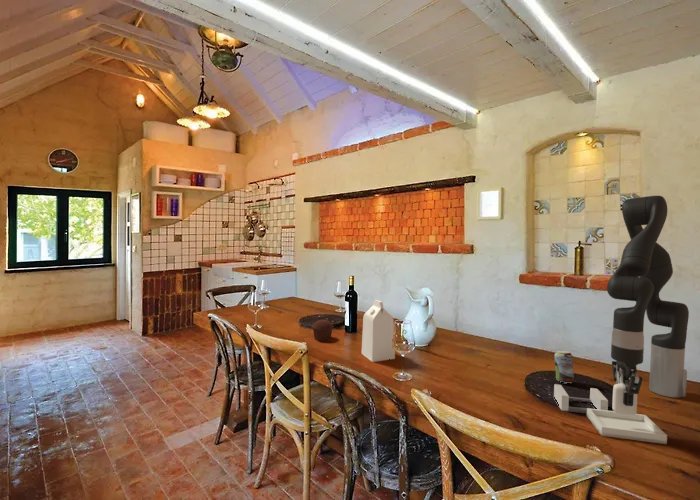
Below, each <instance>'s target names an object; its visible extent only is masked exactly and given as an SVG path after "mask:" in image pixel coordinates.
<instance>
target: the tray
mask: <svg viewBox="0 0 700 500" xmlns="http://www.w3.org/2000/svg"><path fill="white" fill-rule="evenodd" d="M586 417H587V418H588V419H589V420H590V422H591V424H592V425H593V426H594V428H595V429H596V430H597V431H598V433H599V434H600V436H603V437H611V438H617V439H626V440H633V441H641V442H645V443H646V442H649V443H654V444H660V445H667V443H668V434H666V432H664V431H663V430H662V429H661V428H660V427H659V426H658V425H657V424H655V423H654V421H652V419H650V417H648V416H647V415H646V414H640V413H637V414H636V415H624V414H619V413H616V412H614V410H599V409H595V408H590V407H587V413H586Z"/></svg>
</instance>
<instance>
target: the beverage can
mask: <svg viewBox="0 0 700 500" xmlns="http://www.w3.org/2000/svg"><path fill="white" fill-rule="evenodd" d="M554 366H555V367H554V368H555V380H556V381H558V382H559V381H560V382H559V383H561V382H564V383H563V384H567V383H570V384H573V383H574V382H575V374H574V373H575V372H574V371H575V370H574V358H573V355H572V353H571V352H570V351H568V350H555V353H554Z"/></svg>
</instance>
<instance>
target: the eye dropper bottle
mask: <svg viewBox="0 0 700 500" xmlns="http://www.w3.org/2000/svg"><path fill="white" fill-rule="evenodd" d="M625 381H627V382H629V380H625ZM627 386H628V385H627ZM623 394H624V388H623V384H622V383H621V377H620V383H619V384H616V383H615V384H614V385H613V388H612V405H611V406H612V407H611V408H612V411H614V412H616V413H619V414H624V415H636V414H638V413H637V412H638V411H637V410H638V409H637V408H638V394H634V397H633V406H626V405H624V404H623Z"/></svg>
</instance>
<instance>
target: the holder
mask: <svg viewBox="0 0 700 500" xmlns="http://www.w3.org/2000/svg"><path fill="white" fill-rule="evenodd" d="M554 397H555V399H556V400H557V402H558V404H559V406H558V408H559V409H560V410H561V411H563V412H571V413H573V412H574V413H580V414H587V408H588V407H587V408H586V407H580V406H579V407H578V406H577V407H576V406H570V405H569V404H570V403H569V402H570V401H569V399H573V400H582V401H589V402H592V403H593V405H594V406H595V407H596V408H597V409H599V410H608V409H609V408H608V407H609V400H608V398H606V396H605V395H603V393H602V392H601V391H600V390H599V389H598V388H594V387H590V390H589V398H586V397H576V396H569V394H568V393H567V391H566V390H565V388H564V387H563V386H562V384H557V383H555V384H554V386H553V398H554ZM555 399H554V400H555ZM557 402H556V403H557ZM558 404H557V405H558ZM608 411H609V410H608Z"/></svg>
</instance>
